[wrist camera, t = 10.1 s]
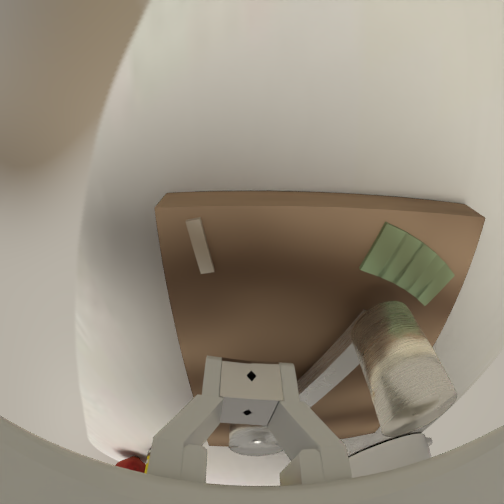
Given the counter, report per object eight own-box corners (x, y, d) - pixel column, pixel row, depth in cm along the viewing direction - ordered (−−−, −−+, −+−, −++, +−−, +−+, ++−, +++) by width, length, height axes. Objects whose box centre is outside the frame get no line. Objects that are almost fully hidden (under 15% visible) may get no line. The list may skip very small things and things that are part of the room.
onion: (134, 448, 29) (124, 498, 22) (163, 463, 31) (157, 508, 24) (110, 449, 30) (100, 493, 23) (138, 463, 32) (131, 505, 25)
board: (370, 417, 24) (375, 434, 22) (210, 428, 24) (208, 447, 22) (464, 204, 13) (487, 219, 11) (166, 192, 13) (153, 209, 11)
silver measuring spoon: (269, 440, 20) (273, 503, 15) (220, 431, 19) (218, 500, 14) (419, 302, 13) (474, 392, 8) (362, 274, 12) (420, 387, 7)
